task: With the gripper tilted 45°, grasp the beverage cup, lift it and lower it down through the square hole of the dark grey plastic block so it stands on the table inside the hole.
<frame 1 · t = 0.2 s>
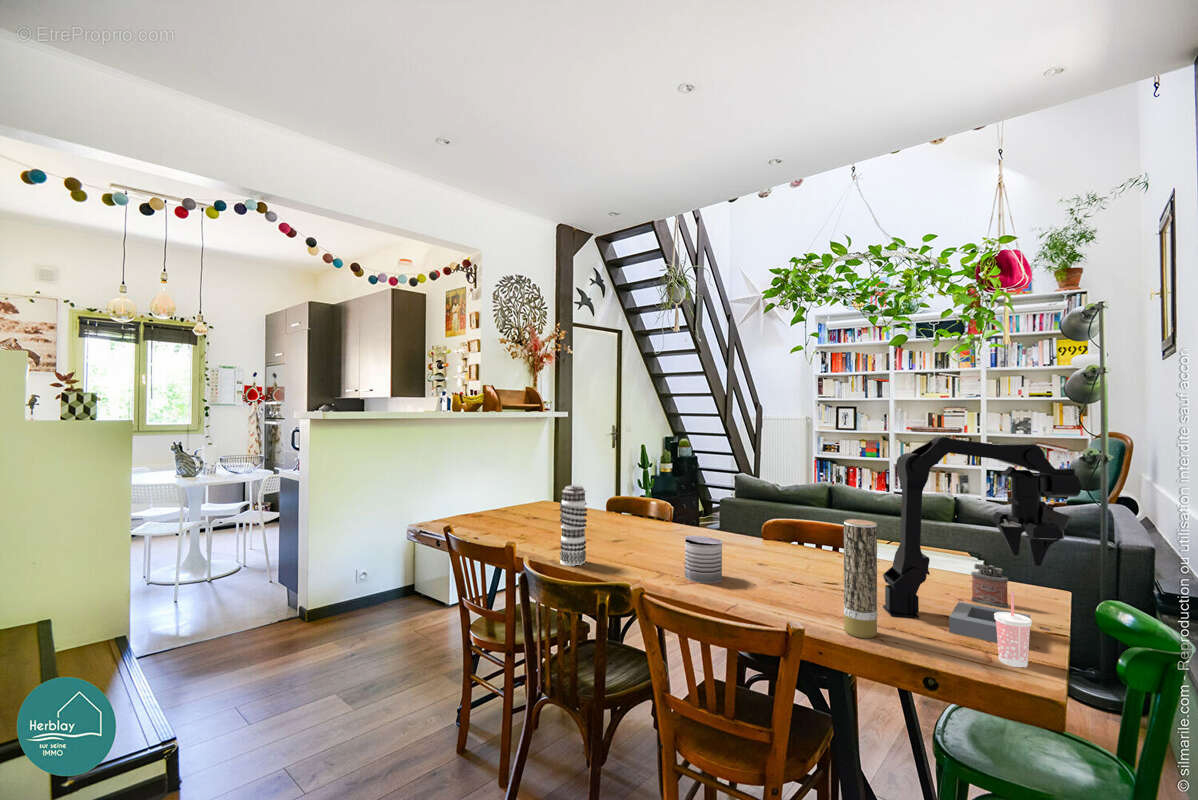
hand: (1026, 560, 135), 15 cm above the table, tool pointing down, fingers open, 9 cm apart
decorative candle: (572, 563, 184), on the table
can: (703, 578, 168), on the table
beverage cup: (1013, 663, 112), on the table
hole block: (990, 631, 128), on the table
paper tube: (860, 634, 126), on the table
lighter: (989, 604, 147), on the table
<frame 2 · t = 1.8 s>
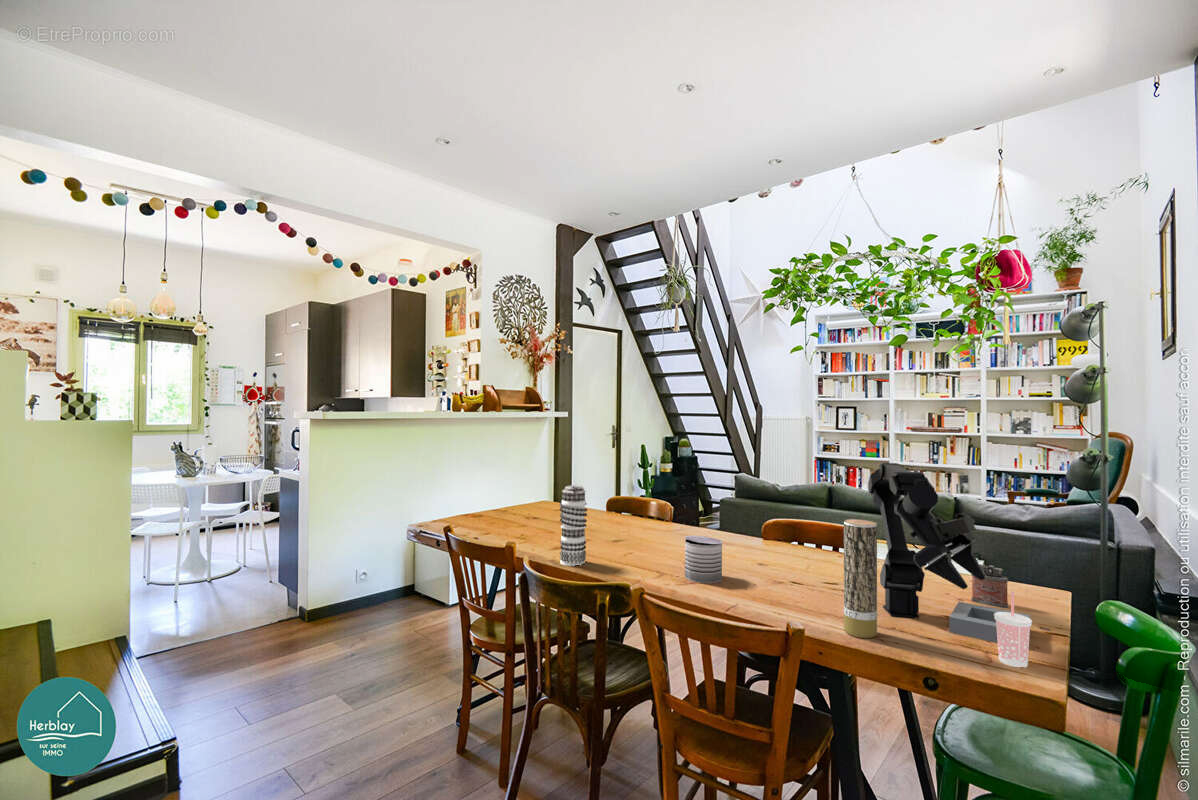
hand: (974, 583, 119), 14 cm above the table, tool tilted 45°, fingers open, 9 cm apart
nothing on the table moved.
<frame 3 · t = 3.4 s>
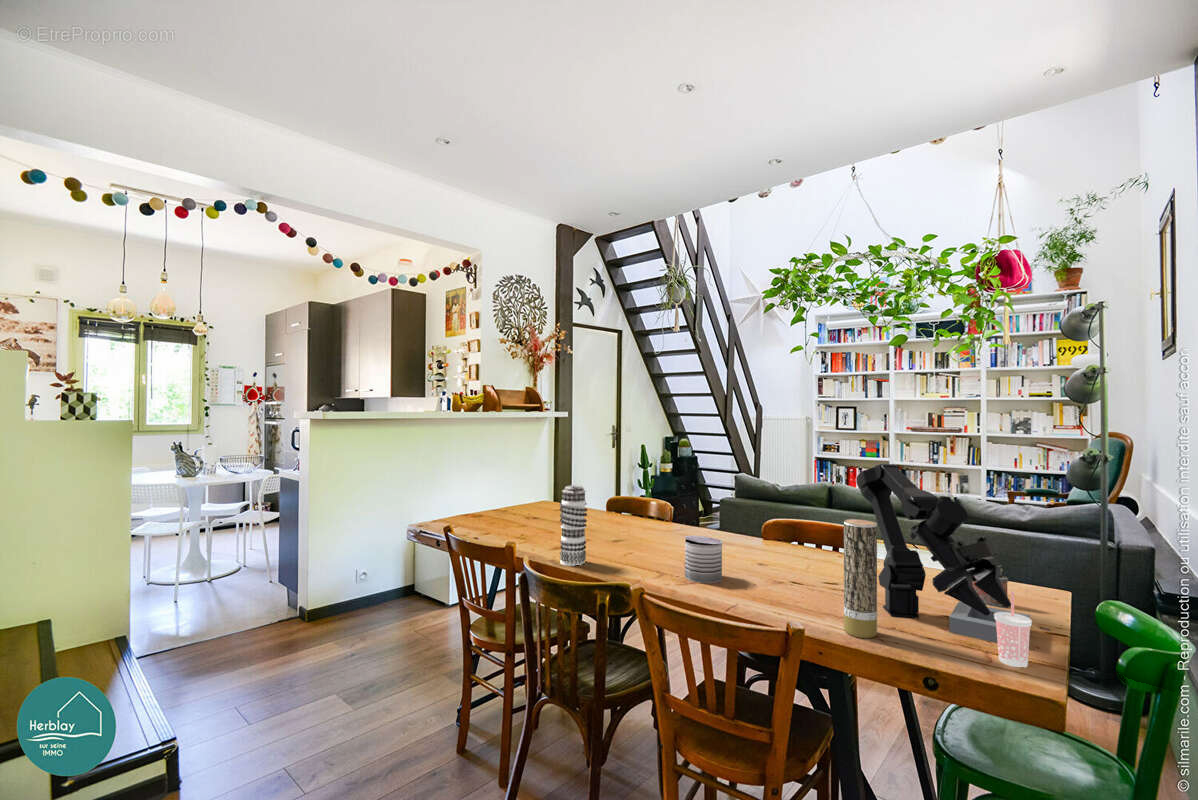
hand: (999, 610, 114), 10 cm above the table, tool tilted 45°, fingers open, 9 cm apart
nothing on the table moved.
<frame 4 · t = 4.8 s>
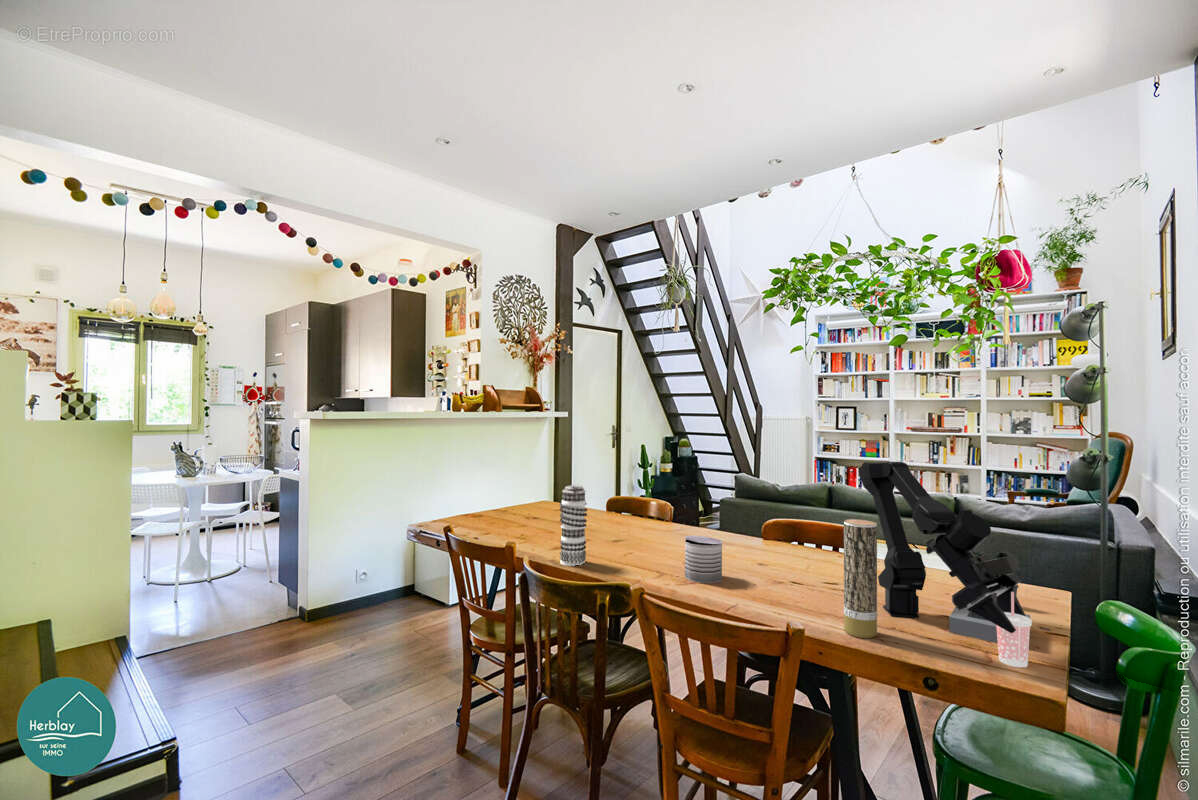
hand: (1021, 628, 111), 7 cm above the table, tool tilted 45°, fingers closed on beverage cup, 6 cm apart
beverage cup: (1013, 663, 112), on the table, touching gripper
everything else where it was.
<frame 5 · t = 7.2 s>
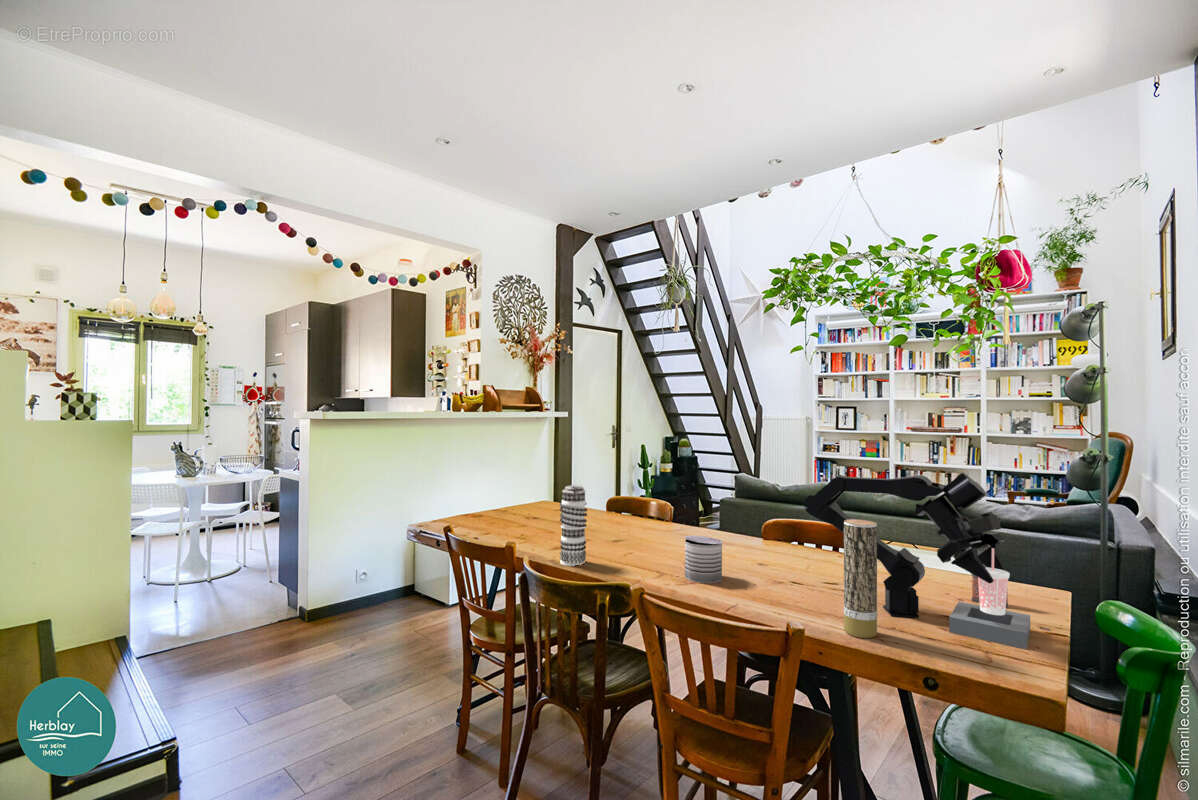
hand: (999, 580, 123), 13 cm above the table, tool tilted 45°, fingers closed on beverage cup, 6 cm apart
beverage cup: (992, 612, 124), point 6 cm above the table, touching gripper
everything else where it was.
when the fingers open (8 cm above the table, at t = 9.5 s): beverage cup drops 1 cm, resting in hole block.
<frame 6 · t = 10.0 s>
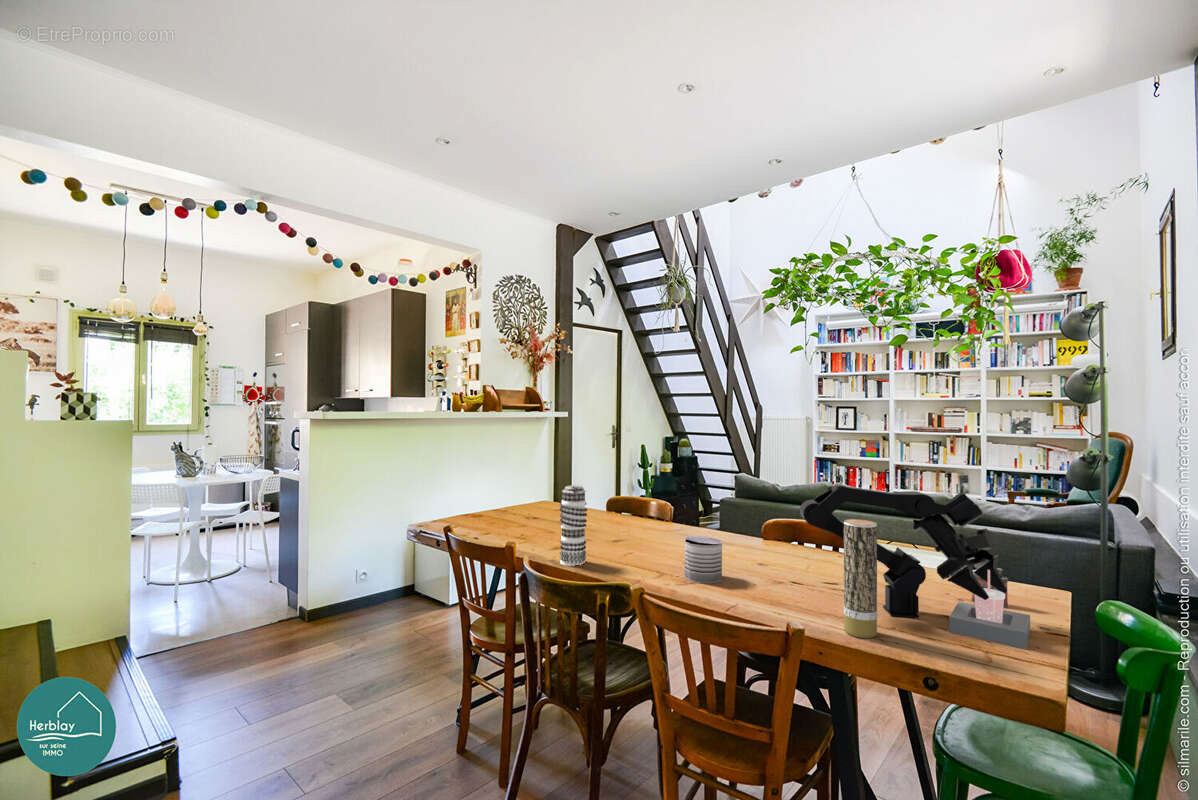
hand: (996, 595, 127), 9 cm above the table, tool tilted 45°, fingers open, 9 cm apart
beverage cup: (989, 632, 128), resting in hole block
everything else where it was.
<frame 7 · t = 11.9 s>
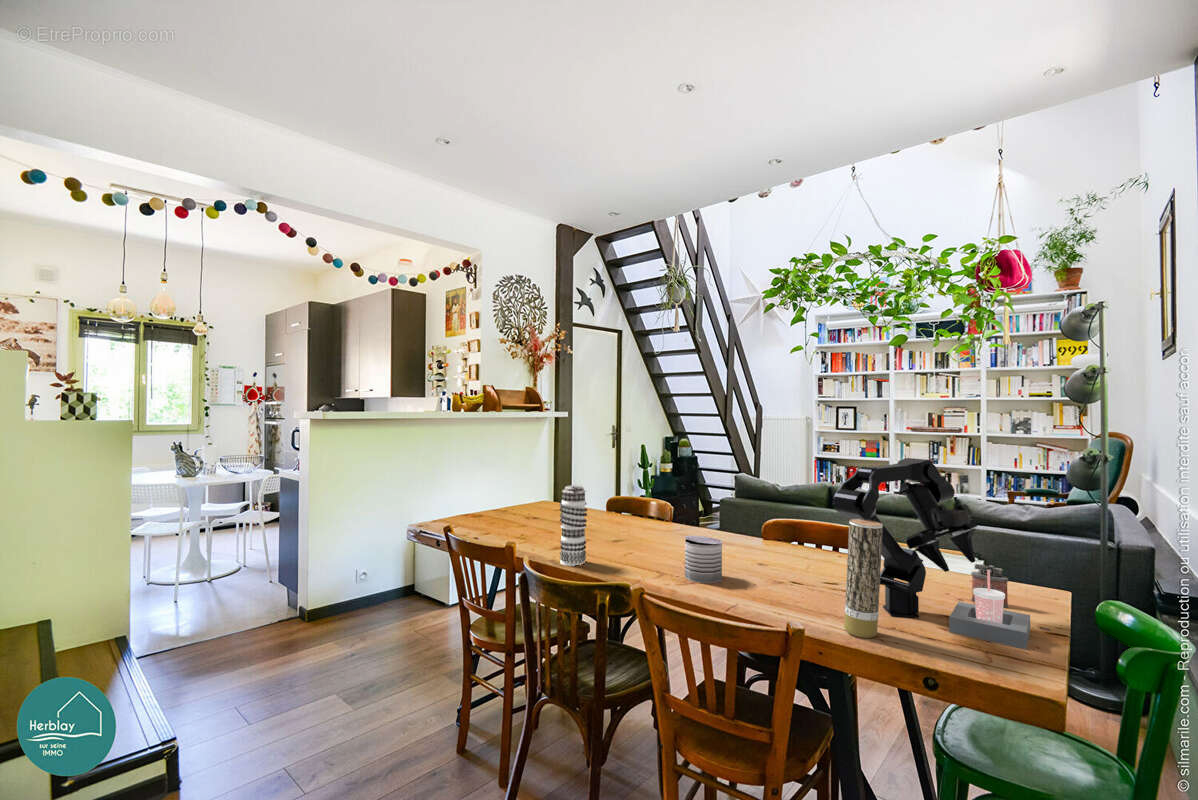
hand: (960, 566, 136), 13 cm above the table, tool tilted 30°, fingers open, 9 cm apart
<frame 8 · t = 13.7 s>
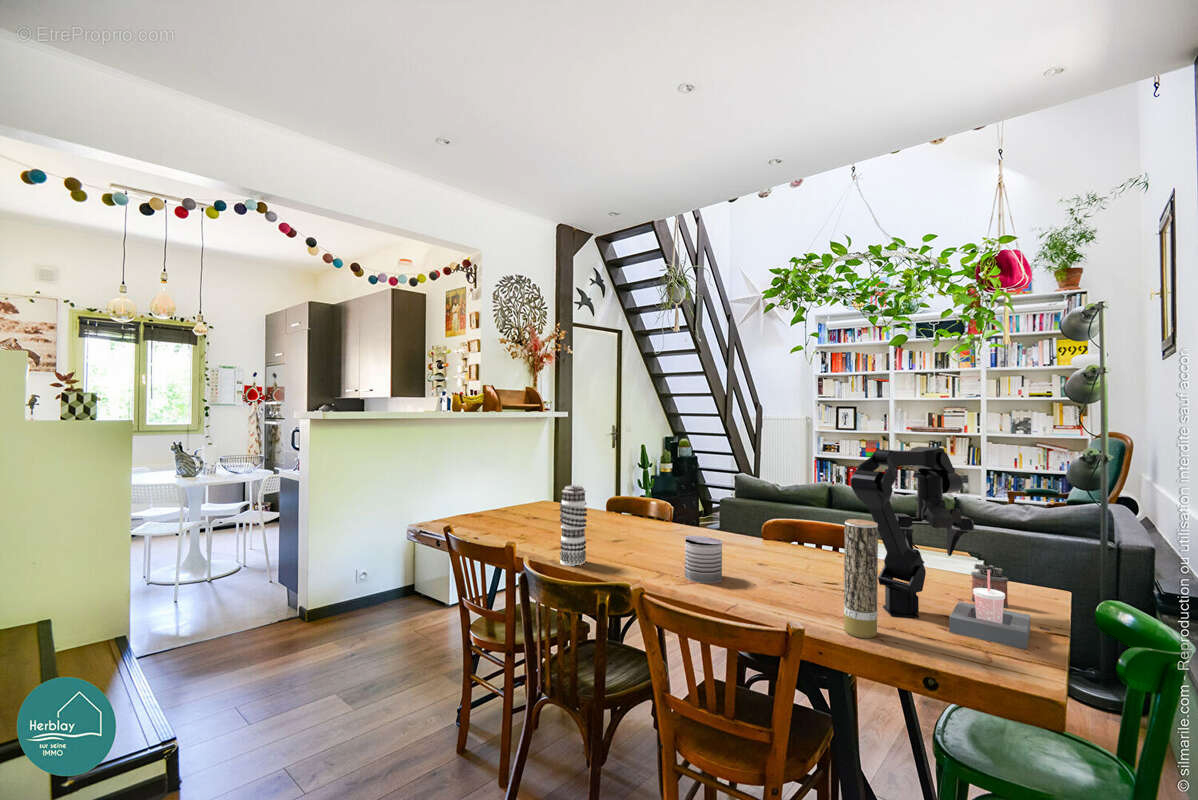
hand: (930, 554, 146), 13 cm above the table, tool pointing down, fingers open, 9 cm apart
at the end: beverage cup 0.2 cm from the hole block (horizontally); beverage cup resting in hole block; beverage cup tilted 0° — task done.
